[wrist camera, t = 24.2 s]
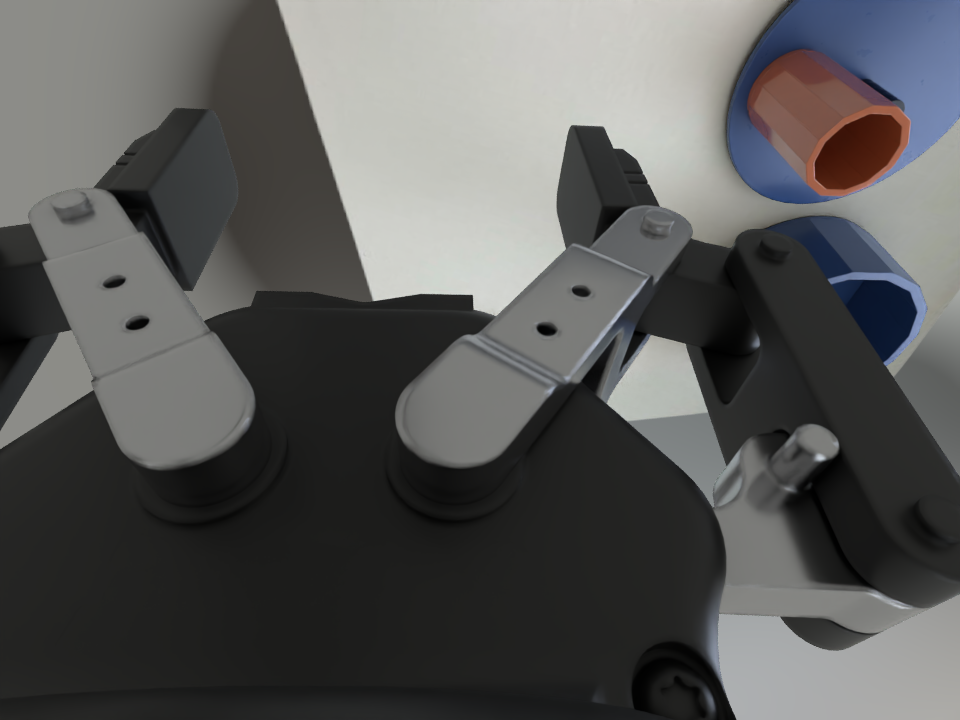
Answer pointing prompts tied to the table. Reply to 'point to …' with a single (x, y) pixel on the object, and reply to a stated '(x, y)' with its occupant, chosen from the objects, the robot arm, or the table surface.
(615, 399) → the table surface
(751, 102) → the cup
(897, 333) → the pot
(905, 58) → the lid
